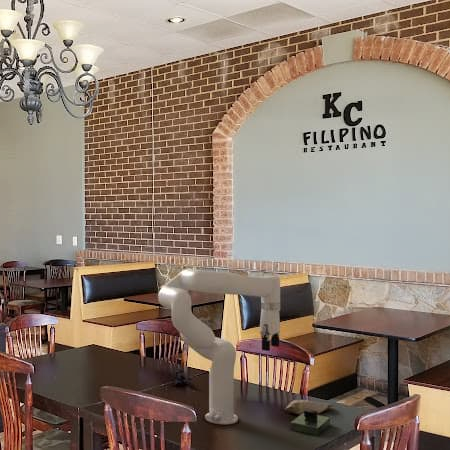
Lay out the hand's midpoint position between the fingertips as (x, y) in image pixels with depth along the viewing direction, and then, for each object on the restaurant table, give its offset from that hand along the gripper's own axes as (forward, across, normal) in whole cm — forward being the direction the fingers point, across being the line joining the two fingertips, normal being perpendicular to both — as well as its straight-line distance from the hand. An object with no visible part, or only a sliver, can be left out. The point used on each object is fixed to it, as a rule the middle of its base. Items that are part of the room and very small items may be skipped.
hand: (270, 348), depth 250 cm
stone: (+26, -11, +12) cm, 31 cm away
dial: (+23, +8, +19) cm, 31 cm away
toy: (+26, -14, -50) cm, 58 cm away
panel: (+26, +8, +19) cm, 33 cm away
